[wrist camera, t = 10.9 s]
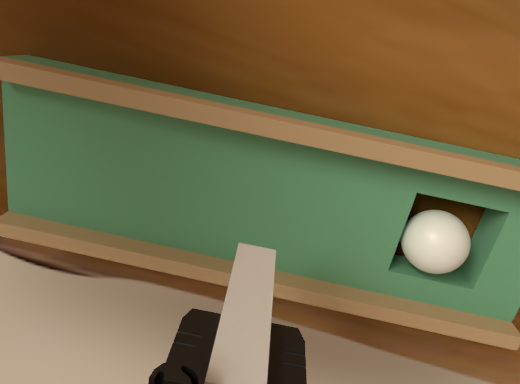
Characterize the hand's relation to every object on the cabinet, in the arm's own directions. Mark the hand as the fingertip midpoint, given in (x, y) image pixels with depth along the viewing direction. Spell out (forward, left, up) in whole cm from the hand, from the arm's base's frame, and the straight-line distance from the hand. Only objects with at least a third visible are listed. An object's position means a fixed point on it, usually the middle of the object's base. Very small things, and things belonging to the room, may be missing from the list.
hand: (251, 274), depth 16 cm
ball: (+1, +11, -9) cm, 14 cm away
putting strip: (+1, 0, -11) cm, 11 cm away
